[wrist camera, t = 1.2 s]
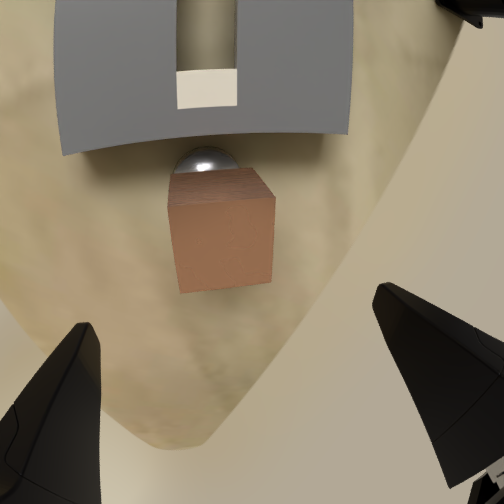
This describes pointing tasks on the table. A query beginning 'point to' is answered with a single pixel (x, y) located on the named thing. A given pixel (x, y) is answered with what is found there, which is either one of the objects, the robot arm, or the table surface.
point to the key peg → (219, 222)
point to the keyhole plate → (199, 72)
